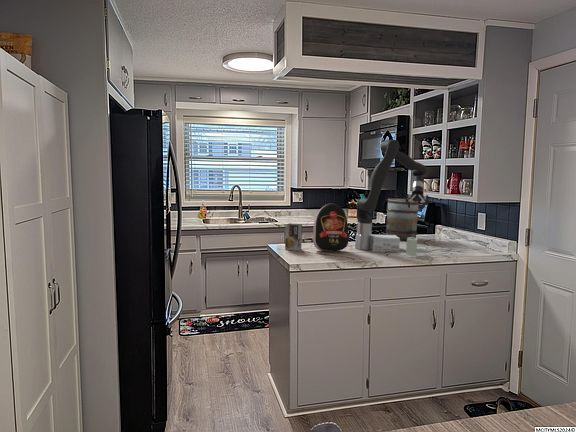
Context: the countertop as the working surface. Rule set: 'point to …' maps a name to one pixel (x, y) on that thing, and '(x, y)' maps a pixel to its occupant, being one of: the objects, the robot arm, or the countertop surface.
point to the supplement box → (385, 243)
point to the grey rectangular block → (411, 246)
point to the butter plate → (410, 255)
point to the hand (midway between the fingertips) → (416, 207)
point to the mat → (423, 251)
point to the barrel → (402, 218)
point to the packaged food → (330, 228)
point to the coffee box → (293, 236)
